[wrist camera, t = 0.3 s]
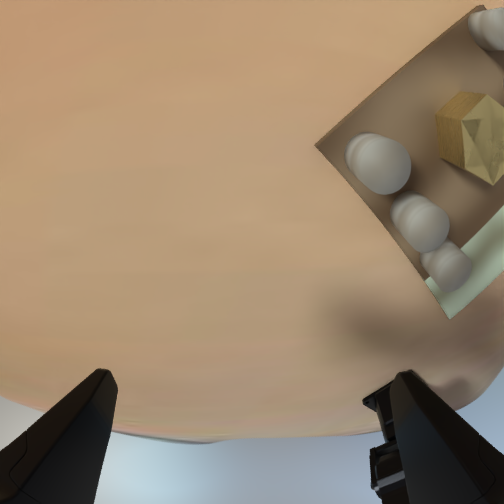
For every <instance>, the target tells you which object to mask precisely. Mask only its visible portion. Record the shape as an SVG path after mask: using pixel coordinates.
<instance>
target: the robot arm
mask: <svg viewBox="0 0 504 504" xmlns="http://www.w3.org/2000/svg"><path fill="white" fill-rule="evenodd" d="M117 393H118V387H117V384H116V382H115V380H114V377H113V375H112V373H111V371H109V370H107V369H101V368H98V369H96V370H95V371H94V372H93V373H91V374H90V375H89V376H88V377H87V378H86V379H84V380H83V381H82V382H81V383H80V384H79V385H78V386H76V387H75V388H74V389H73V390H72V391H71V392H69V393H68V394H67V395H66V396H65V397H64V398H62V399H61V400H60V401H59V402H58V403H57V404H55V405H54V406H53V407H52V408H51V409H50V410H49V411H47V412H46V413H45V414H44V415H43V416H42V417H41V418H39V419H38V420H37V421H36V422H35V423H34V424H33V425H31V426H30V427H29V428H28V429H27V431H24V432H23V433H22V434H21V435H20V436H19V437H18V438H16V439H15V440H14V441H13V442H11V443H10V444H9V445H8V446H6V447H5V448H4V449H2V450H1V451H0V504H94V500H95V496H96V491H97V487H98V482H99V478H100V474H101V469H102V465H103V461H104V457H105V453H106V449H107V446H108V442H109V438H110V434H111V430H112V424H113V417H114V411H115V405H116V399H117ZM362 402H363V405H365V406H367V407H368V408H370V409H372V410H373V411H375V412H377V415H378V418H379V422H380V425H381V429H382V432H383V436H384V440H385V444H383V445H380V446H378V447H376V448H375V447H374V448H372V449H370V470H371V488H372V489H373V490H375V492H376V494H377V495H378V497H379V498H380V499H382V504H504V455H503V454H502V453H501V452H499V451H498V450H497V449H496V448H495V447H493V446H492V445H491V444H490V443H489V442H488V441H487V440H486V439H485V438H483V437H482V436H481V435H479V433H478V432H477V431H476V430H475V429H474V428H473V427H471V426H470V425H469V424H468V423H467V422H466V421H465V420H464V419H463V418H461V416H460V415H458V414H457V413H456V412H455V411H454V410H453V409H452V408H451V407H450V406H449V405H448V404H446V403H445V402H444V401H443V400H442V399H441V398H440V397H439V396H438V395H437V394H435V393H434V392H433V391H432V390H431V389H430V388H429V387H428V386H427V385H426V384H425V383H424V382H423V381H422V380H421V379H420V378H419V377H418V376H416V375H415V374H414V373H413V372H412V371H403V372H399V373H398V374H397V375H396V377H395V379H394V381H392V382H391V383H389V384H387V385H386V386H384V387H383V388H381V389H379V390H378V391H376V392H374V393H373V394H371V395H369V396H368V397H366V398H364V399H363V400H362Z"/></svg>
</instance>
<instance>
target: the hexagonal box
mask: <svg viewBox="0 0 504 504" xmlns="http://www.w3.org/2000/svg"><path fill="white" fill-rule="evenodd" d="M435 121H436V128H437V136H438V144H439V154H440V158H442V159H444V160H446V161H448V162H450V163H452V164H454V165H456V166H458V167H459V168H461V169H463V170H465V171H467V172H468V173H470V174H472V175H474V176H476V177H478V178H480V179H482V180H484V181H486V182H488V183H490V184H491V185H494V184H495V183H496V182H497V181H498V180H499V179H500V178H501V176H502V175H503V174H504V107H503V106H501V105H500V104H499V103H498V102H496V101H495V100H494V99H493V98H491V97H490V96H489V95H487V94H481V93H473V92H463V91H459V92H458V93H457V94H456V95H455V96H454V97H453V98H452V99H451V100H450V101H449V102H447V103H446V104H445V105H444V106H443V107H442V108H441V109H440V110H439V111H438V112H437V113H436V114H435Z"/></svg>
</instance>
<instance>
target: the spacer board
mask: <svg viewBox="0 0 504 504" xmlns="http://www.w3.org/2000/svg"><path fill="white" fill-rule="evenodd" d="M459 91H463V92H473V93H481V94H487V95H489V96H490V97H491V98H493V99H494V100H495V101H496V102H498V103H499V104H500V105H501V106H503V107H504V8H495V9H490V10H487V9H486V8H485V7H484V5H479V6H476V7H475V8H474V9H473V10H471V11H470V12H469V13H467V14H466V15H465V16H464V17H462V18H461V19H460V20H459V21H457V22H456V23H455V24H454V25H452V26H451V27H450V28H449V29H447V30H446V31H445V32H444V33H442V34H441V35H440V36H439V37H438V38H436V39H435V40H434V41H433V42H431V43H430V44H429V45H428V46H427V47H425V48H424V49H423V50H422V51H421V52H419V53H418V54H417V55H416V56H415V57H413V58H412V59H411V60H410V61H409V62H408V63H406V64H405V65H404V66H403V67H402V68H400V69H399V70H398V71H397V72H396V73H395V74H393V75H392V76H391V77H390V78H389V79H388V80H386V81H385V82H384V83H383V84H382V85H381V86H380V87H378V88H377V89H376V90H375V91H374V92H373V93H372V94H370V95H369V96H368V97H367V98H366V99H365V100H364V101H362V102H361V103H360V104H359V105H358V106H357V107H356V108H355V109H353V110H352V111H351V112H350V113H349V114H348V115H347V116H346V117H345V118H343V119H342V120H341V121H340V122H339V123H338V124H337V125H336V126H335V127H333V128H332V129H331V130H330V131H329V132H328V133H327V134H326V135H325V136H324V137H322V138H321V139H320V140H319V141H318V142H317V143H316V144H315V146H316V148H317V149H318V150H319V151H320V152H321V153H322V154H323V155H324V156H325V157H326V158H327V159H328V160H329V162H330V163H331V164H332V165H333V166H334V167H335V168H336V169H337V170H338V172H339V173H340V174H341V175H342V176H343V177H344V178H345V179H346V181H347V182H348V183H349V184H350V185H351V186H352V188H353V189H354V190H355V191H356V192H357V193H358V195H359V196H360V197H361V198H362V199H363V201H364V202H365V203H366V204H367V205H368V207H369V208H370V209H371V210H372V212H373V213H374V214H375V215H376V217H377V218H378V219H379V220H380V222H381V223H382V224H383V225H384V227H385V228H386V229H387V231H388V232H389V233H390V234H391V236H392V237H393V238H394V240H395V241H396V242H397V244H398V245H399V246H400V248H401V249H402V250H403V252H404V253H405V255H406V256H407V257H408V259H409V260H410V261H411V263H412V264H413V266H414V267H415V268H416V270H417V271H418V273H419V274H420V276H421V277H422V279H423V280H424V281H425V283H426V284H427V286H428V287H429V289H430V290H431V292H432V293H433V295H434V296H435V298H436V299H437V301H438V303H439V304H440V306H441V307H442V309H443V310H444V312H445V314H446V315H447V317H448V318H449V320H450V319H451V318H452V317H453V316H455V315H456V314H457V313H458V312H459V311H461V310H462V309H463V308H464V307H465V306H466V305H467V304H469V303H470V302H471V301H472V300H473V299H474V298H475V297H476V296H478V295H479V294H480V293H481V292H482V291H483V290H484V289H485V288H486V287H487V286H488V285H489V284H490V283H491V282H492V281H493V280H494V279H495V278H496V277H497V276H498V275H499V274H500V273H501V272H502V271H503V270H504V174H503V175H502V176H501V178H500V179H499V180H498V181H497V182H496V183H495V184H494V185H491V184H490V183H488V182H486V181H484V180H482V179H480V178H478V177H476V176H474V175H472V174H470V173H468V172H467V171H465V170H463V169H461V168H459V167H458V166H456V165H454V164H452V163H450V162H448V161H446V160H444V159H442V158H440V154H439V144H438V136H437V128H436V121H435V114H436V113H437V112H438V111H439V110H440V109H441V108H442V107H443V106H444V105H445V104H446V103H447V102H449V101H450V100H451V99H452V98H453V97H454V96H455V95H456V94H457V93H458V92H459Z"/></svg>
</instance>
